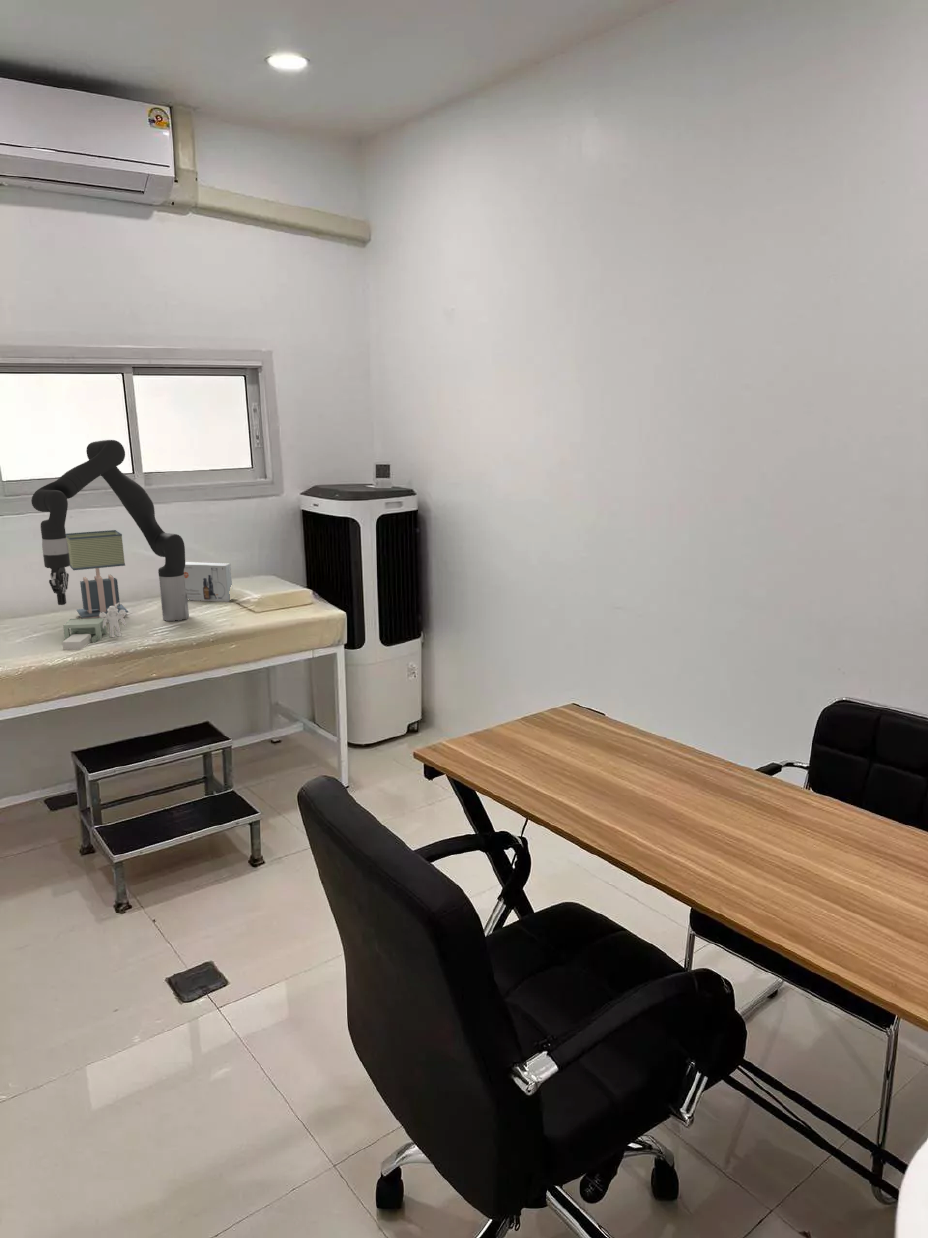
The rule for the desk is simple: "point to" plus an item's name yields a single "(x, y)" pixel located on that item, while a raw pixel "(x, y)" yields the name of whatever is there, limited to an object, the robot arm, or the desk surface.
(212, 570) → the skincare box
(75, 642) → the cover plate
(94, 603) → the desk lamp
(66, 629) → the shelf
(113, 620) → the hat wearing toy figure
